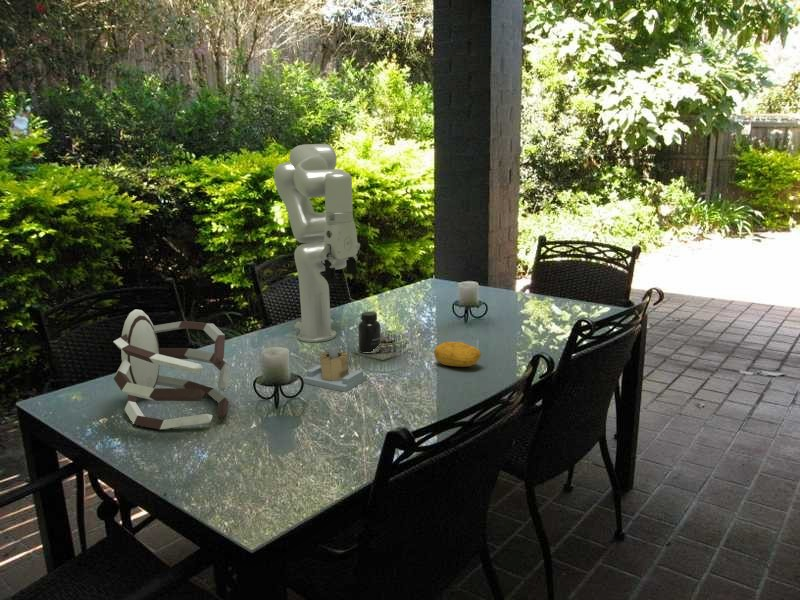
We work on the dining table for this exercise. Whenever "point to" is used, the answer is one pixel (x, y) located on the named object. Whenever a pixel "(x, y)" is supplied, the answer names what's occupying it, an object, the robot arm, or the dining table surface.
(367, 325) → the supplement bottle
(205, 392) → the disc with segmented arms
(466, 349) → the potato
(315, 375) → the shaft stand
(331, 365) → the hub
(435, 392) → the dining table surface
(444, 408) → the dining table surface
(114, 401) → the dining table surface
